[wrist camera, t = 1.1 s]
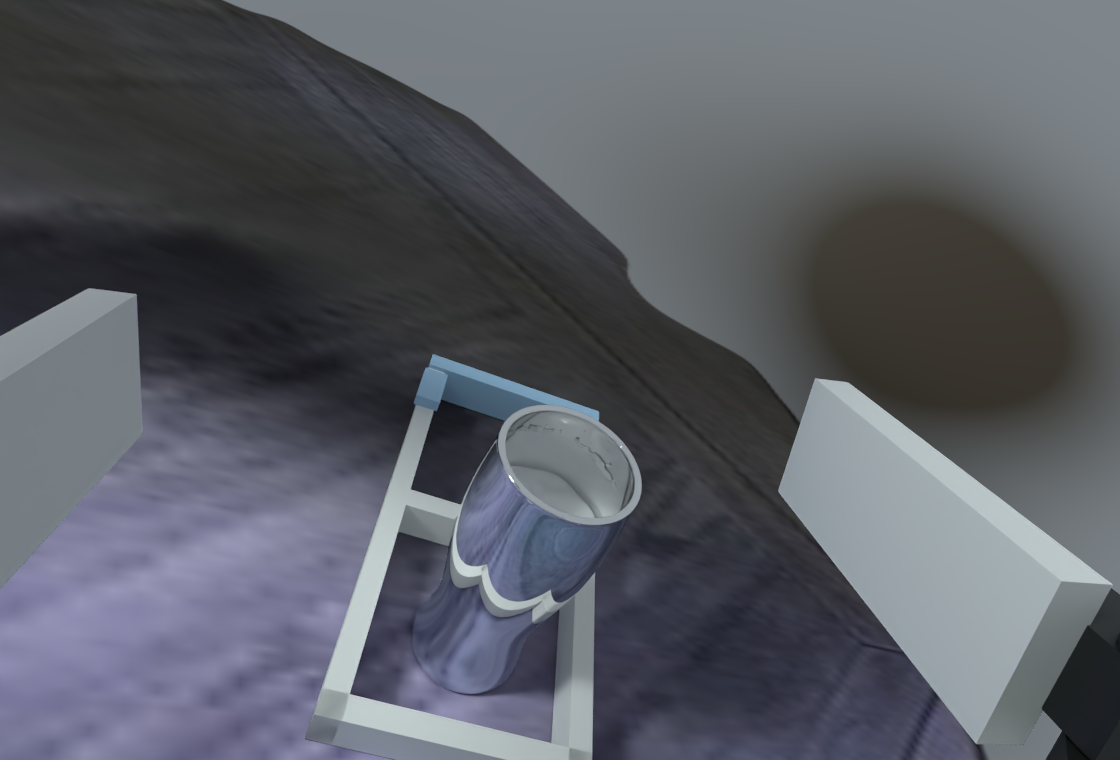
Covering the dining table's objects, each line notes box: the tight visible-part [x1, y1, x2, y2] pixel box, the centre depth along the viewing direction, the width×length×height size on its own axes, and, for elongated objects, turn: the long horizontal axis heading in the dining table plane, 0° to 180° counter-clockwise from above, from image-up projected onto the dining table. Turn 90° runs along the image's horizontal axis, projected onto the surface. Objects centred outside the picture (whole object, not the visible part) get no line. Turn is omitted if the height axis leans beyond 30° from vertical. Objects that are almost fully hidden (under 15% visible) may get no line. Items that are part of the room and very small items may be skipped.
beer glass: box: [412, 405, 642, 694], centre depth 34 cm, size 7×7×15 cm
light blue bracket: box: [413, 354, 599, 422], centre depth 50 cm, size 5×13×3 cm, turn 87°
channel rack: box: [305, 368, 595, 760], centre depth 42 cm, size 26×13×2 cm, turn 176°
